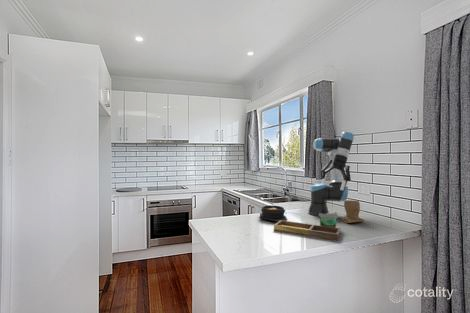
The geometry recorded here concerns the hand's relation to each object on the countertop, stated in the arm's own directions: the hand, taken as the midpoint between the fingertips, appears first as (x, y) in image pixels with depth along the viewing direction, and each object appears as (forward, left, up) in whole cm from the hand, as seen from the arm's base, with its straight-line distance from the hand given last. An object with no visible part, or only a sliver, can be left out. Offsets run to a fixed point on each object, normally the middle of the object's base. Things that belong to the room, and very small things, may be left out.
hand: (332, 187), depth 163 cm
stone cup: (-19, +10, -25) cm, 33 cm away
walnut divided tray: (+23, -11, -25) cm, 36 cm away
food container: (+9, 0, -25) cm, 27 cm away
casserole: (+3, -39, -25) cm, 46 cm away
